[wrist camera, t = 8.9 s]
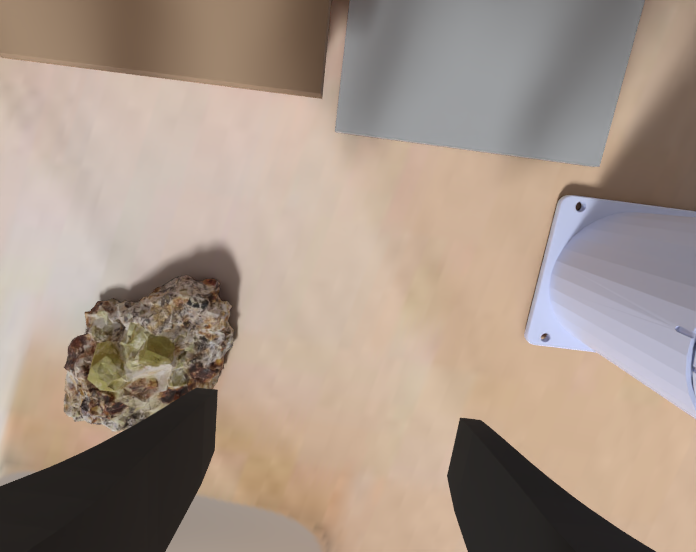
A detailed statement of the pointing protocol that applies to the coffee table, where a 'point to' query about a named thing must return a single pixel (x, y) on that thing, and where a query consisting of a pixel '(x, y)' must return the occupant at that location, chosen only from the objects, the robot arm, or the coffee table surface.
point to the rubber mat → (488, 74)
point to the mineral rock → (147, 353)
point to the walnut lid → (177, 39)
